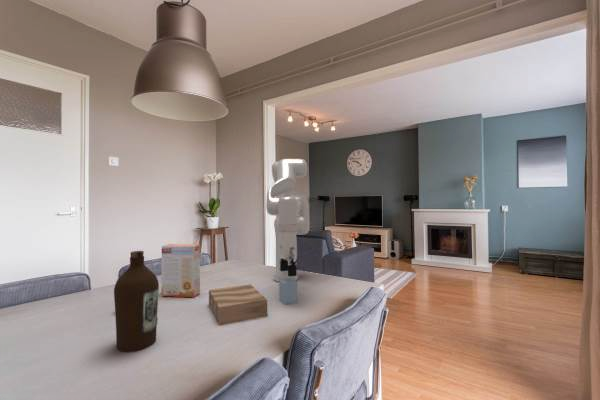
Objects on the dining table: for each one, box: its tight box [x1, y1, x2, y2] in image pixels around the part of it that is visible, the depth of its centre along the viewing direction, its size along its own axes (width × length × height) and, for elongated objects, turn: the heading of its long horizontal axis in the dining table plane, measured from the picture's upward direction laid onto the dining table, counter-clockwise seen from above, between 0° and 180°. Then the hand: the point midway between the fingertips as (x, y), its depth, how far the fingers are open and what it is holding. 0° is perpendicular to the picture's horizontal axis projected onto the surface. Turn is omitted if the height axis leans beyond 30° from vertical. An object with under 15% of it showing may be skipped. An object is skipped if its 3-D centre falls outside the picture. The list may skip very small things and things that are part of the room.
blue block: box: [278, 278, 298, 305], centre depth 112 cm, size 6×6×8 cm
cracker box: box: [161, 243, 201, 298], centre depth 120 cm, size 14×6×21 cm, turn 84°
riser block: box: [208, 283, 268, 326], centre depth 103 cm, size 20×16×6 cm
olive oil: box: [113, 250, 160, 353], centre depth 79 cm, size 11×11×25 cm
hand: (288, 273), depth 111 cm, fingers open, 9 cm apart
